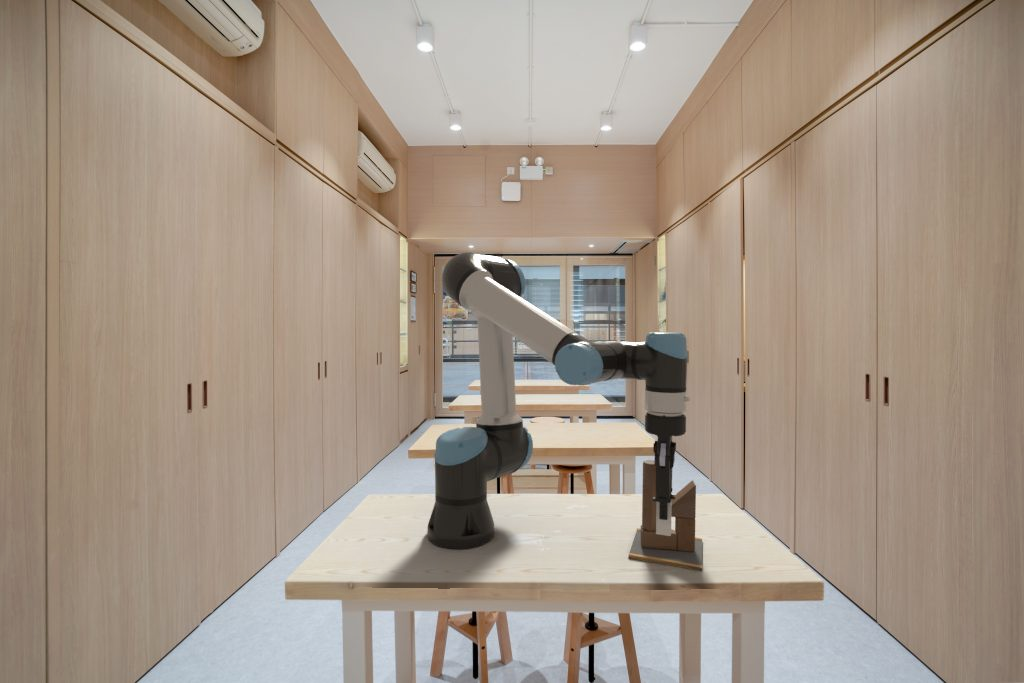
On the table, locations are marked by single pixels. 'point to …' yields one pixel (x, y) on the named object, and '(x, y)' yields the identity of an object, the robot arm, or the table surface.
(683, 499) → the wooden block assembly
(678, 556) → the mat
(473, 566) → the table surface
